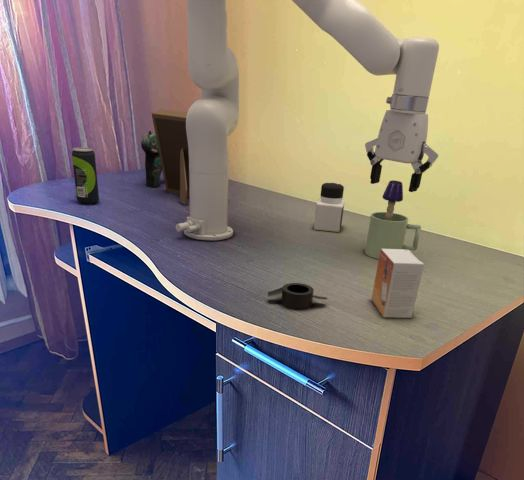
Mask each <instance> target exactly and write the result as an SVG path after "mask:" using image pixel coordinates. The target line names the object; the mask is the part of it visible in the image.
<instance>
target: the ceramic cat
mask: <svg viewBox="0 0 524 480" xmlns="http://www.w3.org/2000/svg"><path fill="white" fill-rule="evenodd" d="M140 147H141V150H142V151H143V152H144V156H145V157H144V169H145V183H146V186H147V187H150V188H159V187H160V182H161V175H162V173H163V171H162V166H161V160H160V155H159V150H158V145H157V140H156V135H155V133H152V131H151V130H149V131H148V132H146V133H144V134H143V135H142V137H141V140H140Z"/></svg>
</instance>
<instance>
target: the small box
mask: <svg viewBox="0 0 524 480" xmlns="http://www.w3.org/2000/svg"><path fill="white" fill-rule="evenodd" d="M424 266H425V263H423V262H422V261H420V260H419V258H418V257H417V256H415V255H414V254H413V252H412V251H411V250H404V249H381V250H380V256H379V259H378V262H377V268H376V273H375V277H374V282H373V289H372V294H371V299H370V300H371V301H372V302H373V304H374V305H375V307H376V309H377V310H378V312H379V313H380V315H381V316H382V318H403V319H411V318H412V317H413V314H414V309H415V305H416V301H417V297H418V292H419V287H420V284H421V279H422V275H423V271H424V268H425V267H424Z"/></svg>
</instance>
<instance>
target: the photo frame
mask: <svg viewBox="0 0 524 480" xmlns="http://www.w3.org/2000/svg"><path fill="white" fill-rule="evenodd" d="M187 113H188V112H186V111H177V110H169V109H161V108H160V109H158V110H155V111H153V112H151V119H152V124H153V129H154V134H155V135H156V140H157V145H158V150H159V155H160V160H161V166H162V176H163V180H164V181H163V182H164V185H165V191H166V192H168V193H172V194H175V195H179V202H180V203H181V204H182V205H184V206H186V205H187V197H190V193H189V150H188V140H187V132H186V117H187Z"/></svg>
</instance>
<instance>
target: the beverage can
mask: <svg viewBox="0 0 524 480" xmlns="http://www.w3.org/2000/svg"><path fill="white" fill-rule="evenodd" d="M71 150H72V152H71V158H72V159H71V160H72V168H73V176H74V186H75V195H76V201H77V202H78V203H79V204H81V205H85V206H86V205H87V206H90V205H96V204H98V203H99V201H100V196H99V195H100V194H99V186H98V185H99V183H98V173H97V162H96V154H95V153H96V152H94V148H91V147H73V148H71Z"/></svg>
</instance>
